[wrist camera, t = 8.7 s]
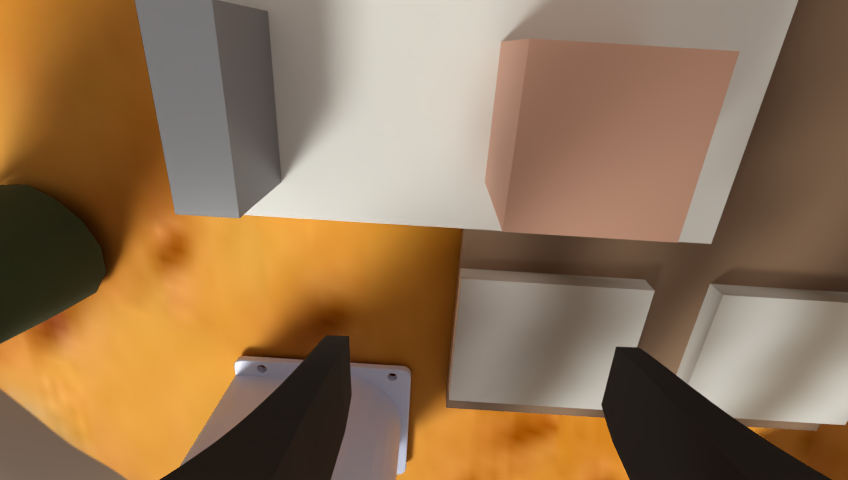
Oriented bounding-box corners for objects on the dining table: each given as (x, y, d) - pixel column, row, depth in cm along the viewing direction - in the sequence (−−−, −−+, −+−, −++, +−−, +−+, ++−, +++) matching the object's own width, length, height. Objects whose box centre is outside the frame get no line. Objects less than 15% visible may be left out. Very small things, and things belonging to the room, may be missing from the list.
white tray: (234, 205, 19) (168, 256, 14) (202, -40, 15) (99, -79, 10) (697, 234, 19) (782, 294, 14) (779, -5, 15) (930, -29, 10)
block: (484, 182, 17) (502, 231, 12) (501, 41, 15) (529, 38, 10) (612, 190, 17) (678, 242, 12) (646, 50, 15) (739, 51, 10)
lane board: (445, 393, 24) (446, 422, 22) (489, -49, 16) (496, -62, 14) (802, 416, 24) (832, 446, 22) (1039, -16, 16) (1119, -24, 14)
